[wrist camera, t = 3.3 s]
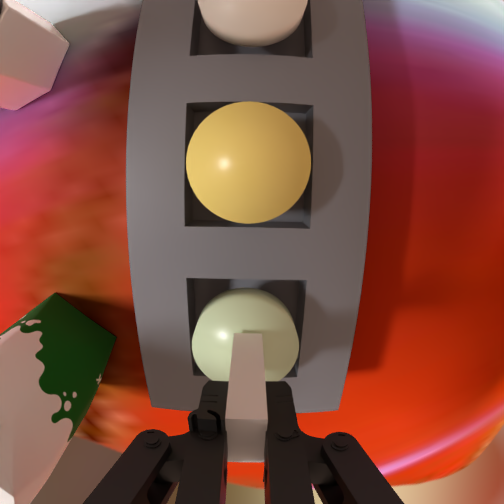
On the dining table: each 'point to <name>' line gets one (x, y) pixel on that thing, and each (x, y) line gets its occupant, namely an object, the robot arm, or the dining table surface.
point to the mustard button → (248, 162)
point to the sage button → (245, 321)
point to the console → (255, 234)
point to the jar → (27, 55)
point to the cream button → (252, 20)
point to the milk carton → (45, 391)
